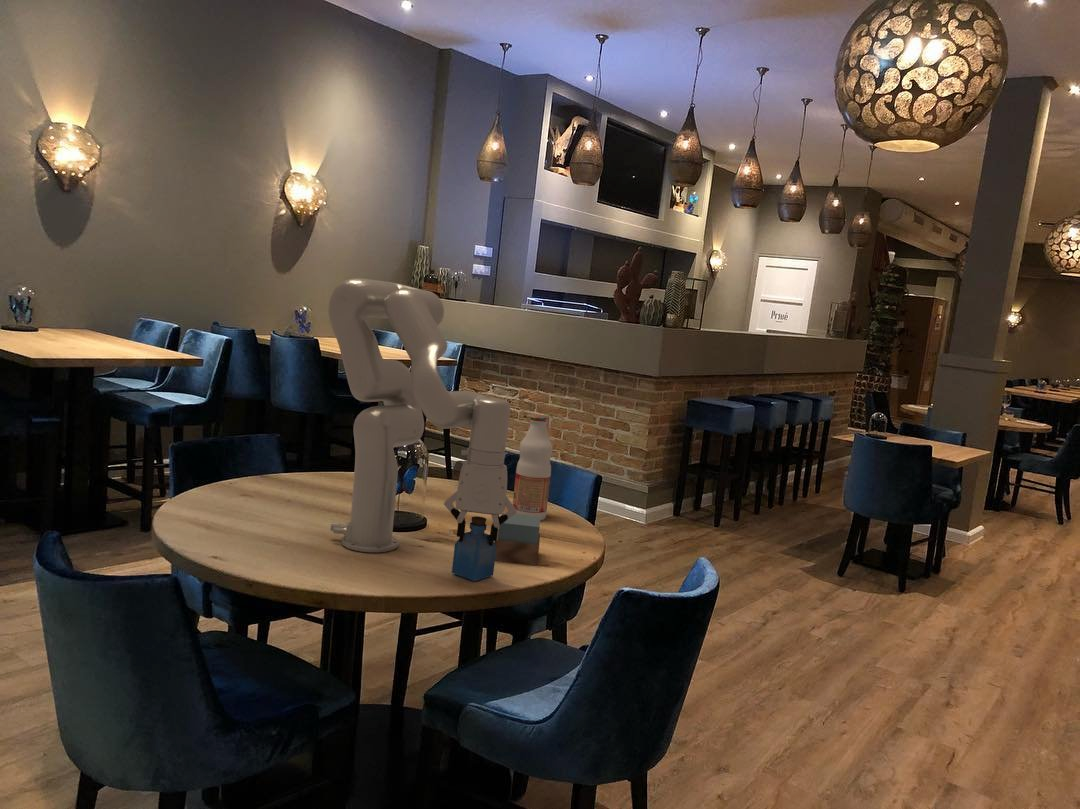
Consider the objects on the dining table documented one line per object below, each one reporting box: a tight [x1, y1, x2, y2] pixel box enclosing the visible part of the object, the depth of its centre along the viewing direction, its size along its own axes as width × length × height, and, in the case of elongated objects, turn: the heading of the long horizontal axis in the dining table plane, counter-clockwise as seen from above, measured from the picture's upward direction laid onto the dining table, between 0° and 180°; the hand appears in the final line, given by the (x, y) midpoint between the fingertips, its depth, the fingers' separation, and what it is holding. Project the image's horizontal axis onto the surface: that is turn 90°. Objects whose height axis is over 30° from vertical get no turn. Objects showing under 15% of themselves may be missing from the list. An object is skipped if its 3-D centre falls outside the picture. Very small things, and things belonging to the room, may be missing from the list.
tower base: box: [494, 528, 541, 567], centre depth 195 cm, size 10×10×5 cm
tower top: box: [498, 512, 541, 544], centre depth 195 cm, size 9×9×4 cm
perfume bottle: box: [451, 516, 497, 582], centre depth 178 cm, size 6×6×12 cm
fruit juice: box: [512, 414, 554, 522], centre depth 232 cm, size 9×9×28 cm
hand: (476, 541), depth 178 cm, fingers closed on perfume bottle, 5 cm apart
